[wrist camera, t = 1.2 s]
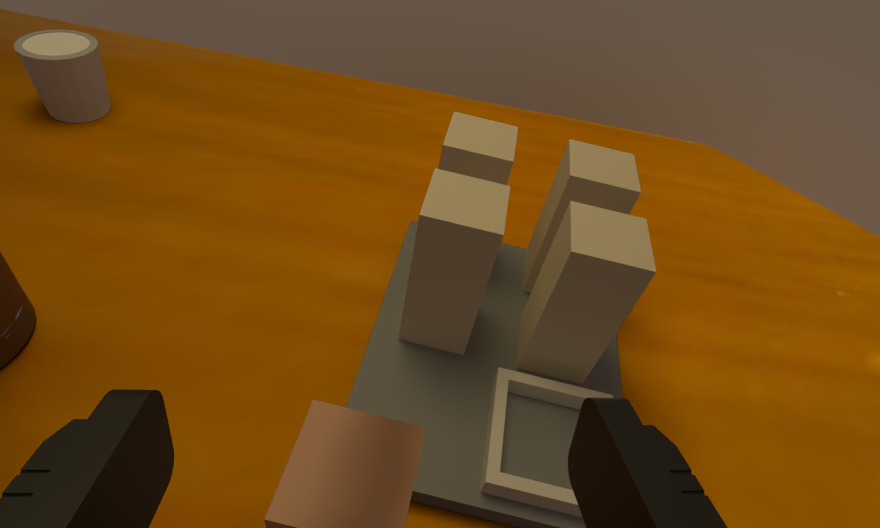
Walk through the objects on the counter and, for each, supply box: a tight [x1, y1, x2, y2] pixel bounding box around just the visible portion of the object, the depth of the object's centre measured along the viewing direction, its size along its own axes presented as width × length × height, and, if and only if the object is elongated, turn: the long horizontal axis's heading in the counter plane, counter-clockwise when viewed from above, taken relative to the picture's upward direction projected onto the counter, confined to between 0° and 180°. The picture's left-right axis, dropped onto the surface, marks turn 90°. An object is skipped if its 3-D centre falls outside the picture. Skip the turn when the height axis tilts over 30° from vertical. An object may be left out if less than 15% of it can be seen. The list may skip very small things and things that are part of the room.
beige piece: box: [14, 30, 111, 123], centre depth 52 cm, size 7×7×7 cm
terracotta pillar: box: [264, 400, 426, 528], centre depth 24 cm, size 5×5×12 cm
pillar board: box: [346, 112, 656, 528], centre depth 35 cm, size 19×24×14 cm
